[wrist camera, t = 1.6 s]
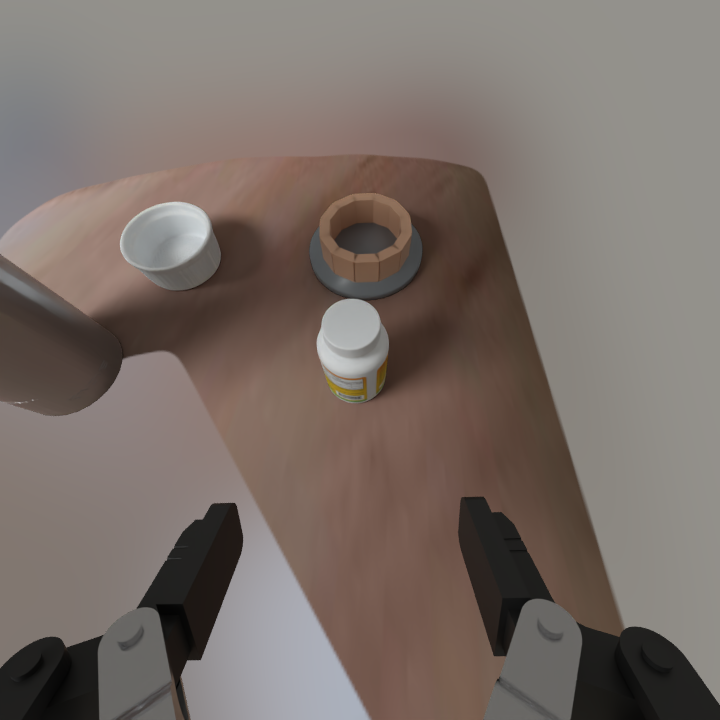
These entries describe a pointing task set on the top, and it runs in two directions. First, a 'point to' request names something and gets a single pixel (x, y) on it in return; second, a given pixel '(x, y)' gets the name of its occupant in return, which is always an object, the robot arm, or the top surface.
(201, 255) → the ramekin
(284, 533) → the top surface
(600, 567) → the top surface
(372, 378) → the supplement bottle
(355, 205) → the holder
